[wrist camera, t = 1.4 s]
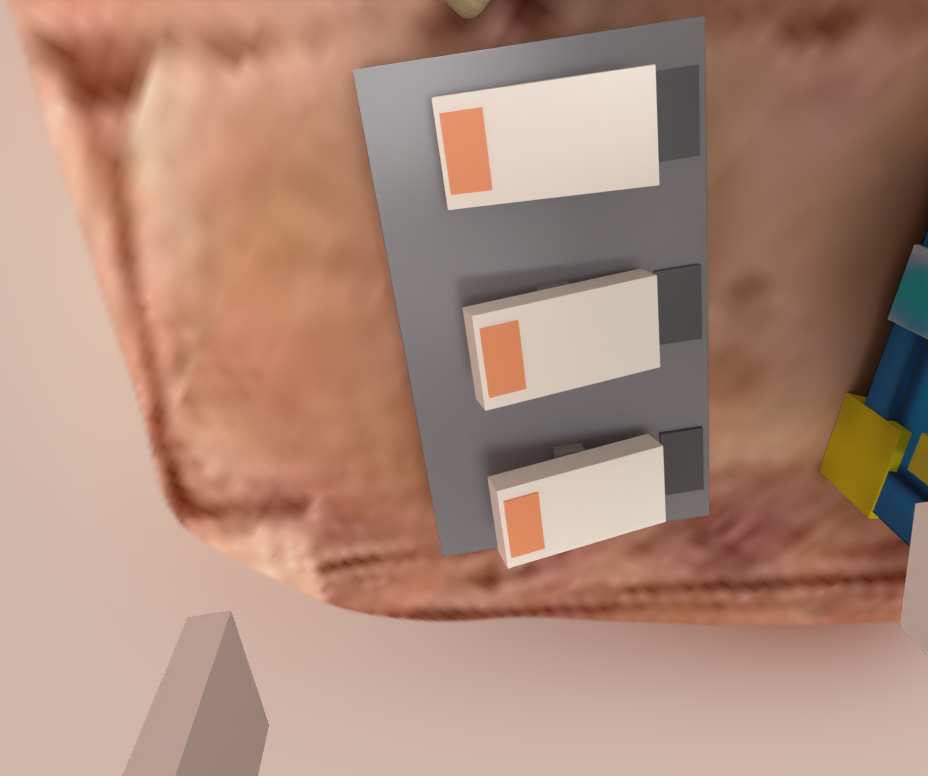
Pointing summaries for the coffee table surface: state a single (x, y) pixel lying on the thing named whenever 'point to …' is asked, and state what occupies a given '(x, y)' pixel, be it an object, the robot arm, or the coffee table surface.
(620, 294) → the rocker
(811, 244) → the coffee table surface
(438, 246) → the rocker switch panel
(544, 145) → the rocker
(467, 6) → the grey ribbed rounded piece
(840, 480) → the decorative book
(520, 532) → the small box
